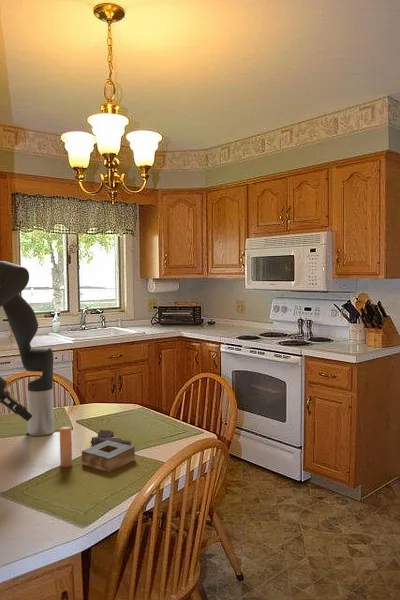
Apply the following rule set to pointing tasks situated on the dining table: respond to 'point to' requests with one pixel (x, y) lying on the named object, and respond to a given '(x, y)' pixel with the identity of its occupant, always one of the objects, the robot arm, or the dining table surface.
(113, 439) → the pistol
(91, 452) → the socket
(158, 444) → the dining table surface
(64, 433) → the peg
